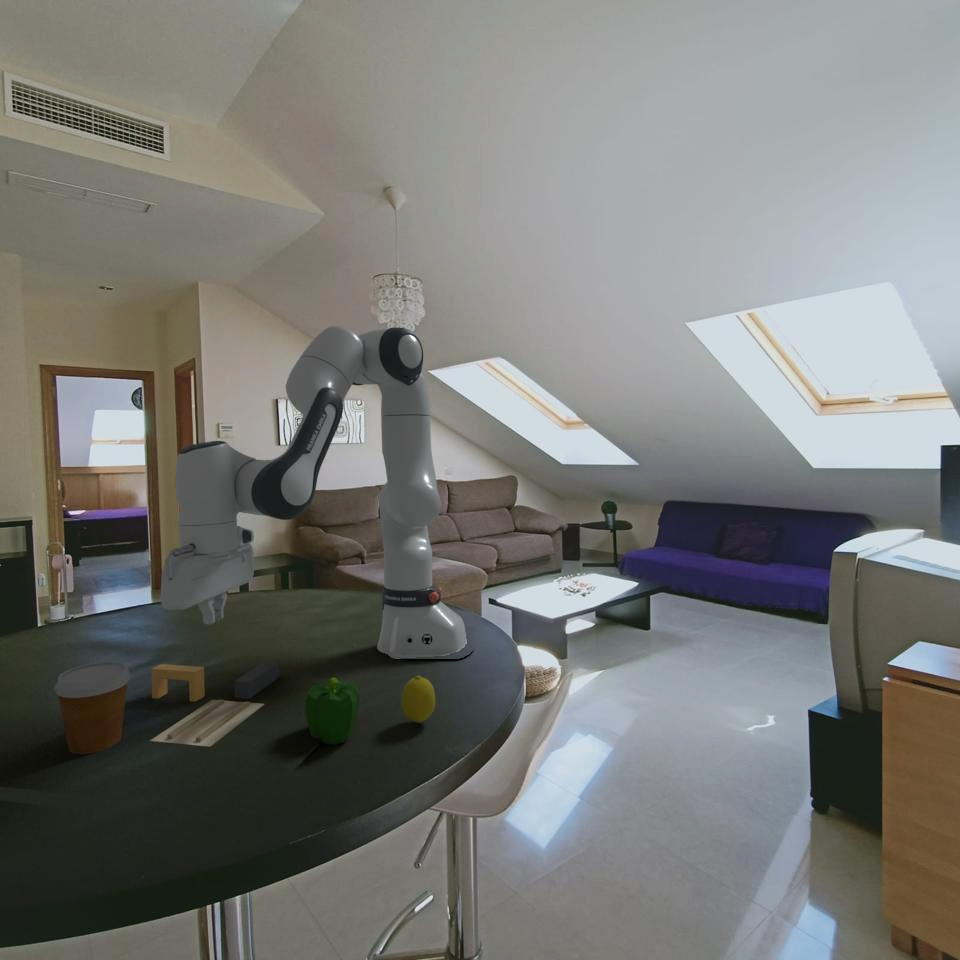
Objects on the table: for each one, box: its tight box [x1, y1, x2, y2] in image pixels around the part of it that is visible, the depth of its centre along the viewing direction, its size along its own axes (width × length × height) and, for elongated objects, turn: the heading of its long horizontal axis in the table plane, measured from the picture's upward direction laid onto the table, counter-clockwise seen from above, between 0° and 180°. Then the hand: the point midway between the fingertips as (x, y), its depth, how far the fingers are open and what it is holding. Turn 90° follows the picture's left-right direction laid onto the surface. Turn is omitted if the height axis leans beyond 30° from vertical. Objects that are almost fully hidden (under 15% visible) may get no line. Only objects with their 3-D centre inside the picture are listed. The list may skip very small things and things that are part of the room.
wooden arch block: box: [150, 663, 206, 702], centre depth 104 cm, size 9×2×6 cm, turn 80°
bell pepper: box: [304, 677, 360, 746], centre depth 91 cm, size 8×8×10 cm
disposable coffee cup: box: [53, 661, 132, 755], centre depth 87 cm, size 10×10×12 cm
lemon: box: [400, 675, 436, 723], centre depth 96 cm, size 6×6×8 cm
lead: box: [234, 661, 279, 700], centre depth 108 cm, size 3×10×4 cm, turn 170°
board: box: [149, 699, 265, 748], centre depth 94 cm, size 10×15×2 cm, turn 170°
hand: (213, 621), depth 98 cm, fingers closed
